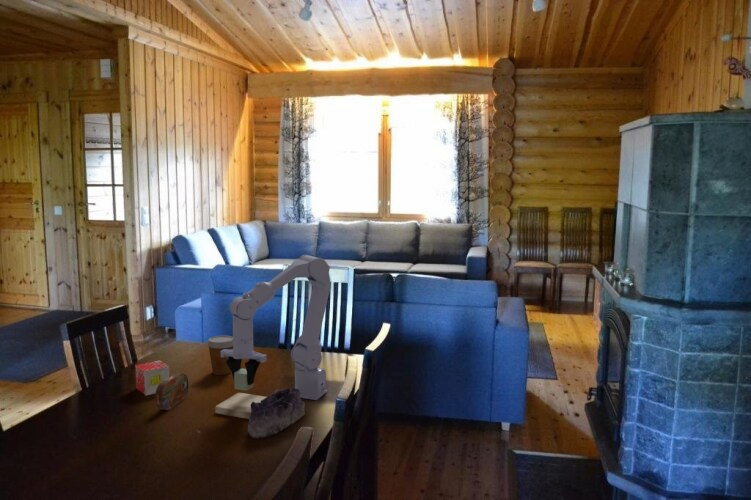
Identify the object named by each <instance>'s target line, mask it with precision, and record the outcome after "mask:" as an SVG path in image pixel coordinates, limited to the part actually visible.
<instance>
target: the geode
mask: <svg viewBox="0 0 751 500" xmlns="http://www.w3.org/2000/svg"><path fill="white" fill-rule="evenodd" d="M300 394H301V392H300V391H299V389H295V387H294V388H291V390H290V388H284V389H281V390H280V389H278V388H277V389H276V390H275V391H273V392H272V393H271V395H269V396H266V397H267V398H265V399H263V400H261V403H259V402H258V403H255V402H252V403H251V405H250V406H251V415H250V416H249V419H248V425H247V435H248V436H249V438H251V439H253V440H261V439H265V438H266V439H267V438H270V437H273V436H275V435H277V434H279V433H280V432H281V431H283V430H284V429H286V428H288V427H290V426H292V425H293V424H295V423H297V421H299V420H300V419H301V418H302V417H304V416H305V415H306V413H305V412H306V411H305V409H306V405H305V404H306V402H304V401H303V400H302V398H300Z"/></svg>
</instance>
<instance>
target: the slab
mask: <svg viewBox="0 0 751 500" xmlns="http://www.w3.org/2000/svg"><path fill="white" fill-rule="evenodd" d="M267 397H268V396H262V395H257V394H249V393H244V392H236V393H235V394H234V395H232V396H230V397H229V398H226V399H225V400H223V401H222V402H220V403H218V404H217V405H216V406H214V407H215V409H214V410H215V414H219V415H225V416H229V417H230V416H231V417H235V418H241V419H248V420H249V416H250V415H251V406H250V405H251V403H252V402H255V403H258V402H259V403H261V400H263V399H265V398H267Z"/></svg>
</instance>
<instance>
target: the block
mask: <svg viewBox="0 0 751 500" xmlns="http://www.w3.org/2000/svg"><path fill="white" fill-rule="evenodd" d="M233 382H234V390H240V391H248V390H249V389H251V388H253V387H254V386H255V385H254V383H253V384H251V385H248V382H247V371H246V368H241V369H240V370H238V371H236V372H234V379H233Z"/></svg>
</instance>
